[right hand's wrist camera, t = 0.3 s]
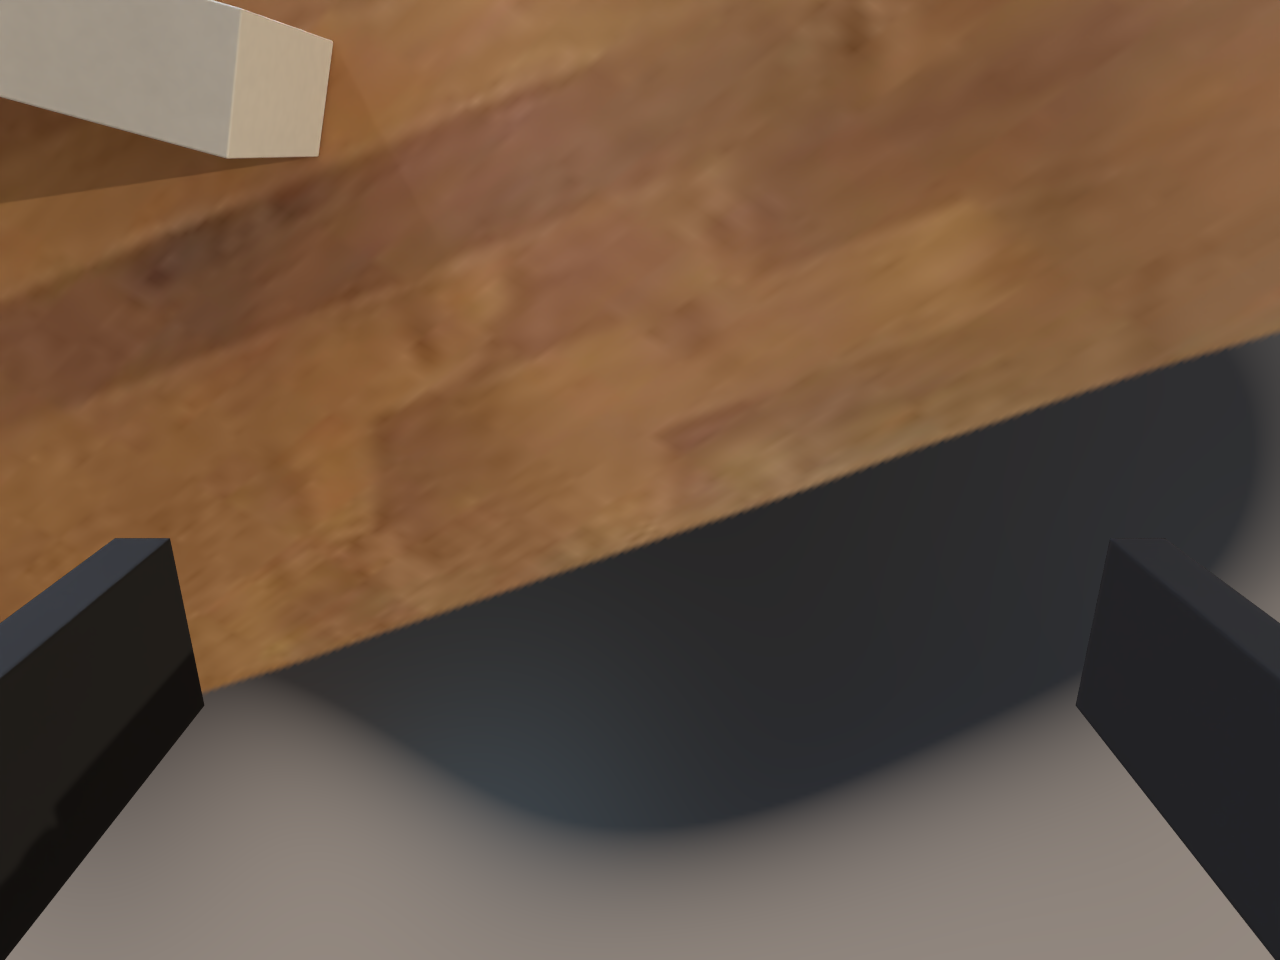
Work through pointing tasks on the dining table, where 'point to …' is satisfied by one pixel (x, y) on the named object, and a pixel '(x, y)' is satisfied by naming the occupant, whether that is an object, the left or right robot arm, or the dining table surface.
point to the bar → (170, 72)
